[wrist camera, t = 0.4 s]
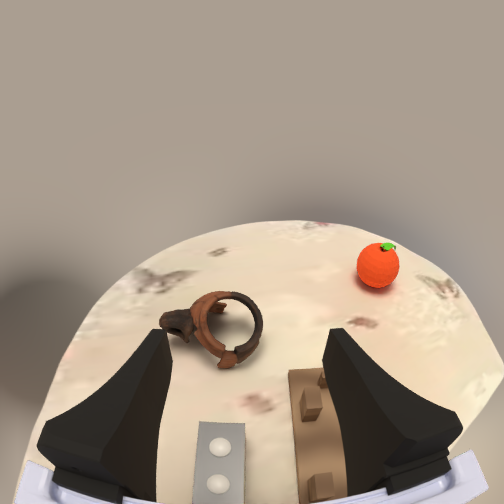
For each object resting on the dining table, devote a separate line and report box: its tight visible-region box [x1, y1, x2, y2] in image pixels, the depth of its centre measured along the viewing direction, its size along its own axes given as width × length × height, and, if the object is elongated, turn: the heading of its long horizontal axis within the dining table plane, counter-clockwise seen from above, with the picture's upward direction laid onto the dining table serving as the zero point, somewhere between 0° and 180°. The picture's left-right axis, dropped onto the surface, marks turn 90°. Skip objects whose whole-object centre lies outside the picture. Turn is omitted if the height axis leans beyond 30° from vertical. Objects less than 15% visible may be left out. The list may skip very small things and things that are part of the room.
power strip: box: [192, 421, 246, 504], centre depth 19 cm, size 12×4×5 cm, turn 0°
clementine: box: [357, 243, 399, 288], centre depth 43 cm, size 8×7×7 cm
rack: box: [288, 368, 347, 504], centre depth 23 cm, size 20×10×4 cm, turn 1°
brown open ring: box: [159, 291, 263, 368], centre depth 34 cm, size 12×10×8 cm
